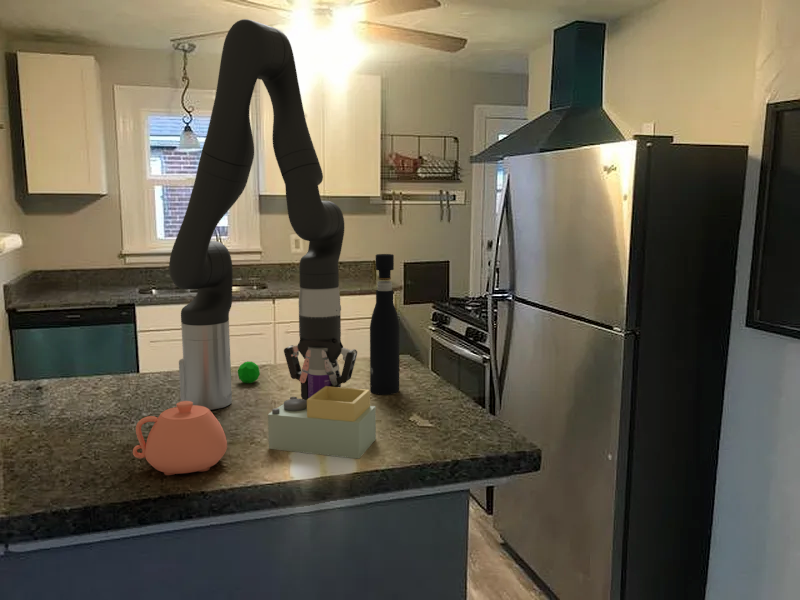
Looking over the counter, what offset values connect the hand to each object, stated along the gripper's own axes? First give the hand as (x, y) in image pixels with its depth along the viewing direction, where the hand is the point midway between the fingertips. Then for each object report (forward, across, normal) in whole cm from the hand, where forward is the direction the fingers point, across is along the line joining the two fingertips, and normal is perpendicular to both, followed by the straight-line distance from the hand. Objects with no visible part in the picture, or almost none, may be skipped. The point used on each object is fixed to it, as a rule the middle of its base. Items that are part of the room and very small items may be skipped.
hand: (321, 402), depth 120 cm
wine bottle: (+5, +5, +24) cm, 25 cm away
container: (+5, 0, 0) cm, 5 cm away
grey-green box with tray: (+4, +4, -9) cm, 11 cm away
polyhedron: (+5, -27, +22) cm, 35 cm away
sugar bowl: (+5, -14, -24) cm, 28 cm away
